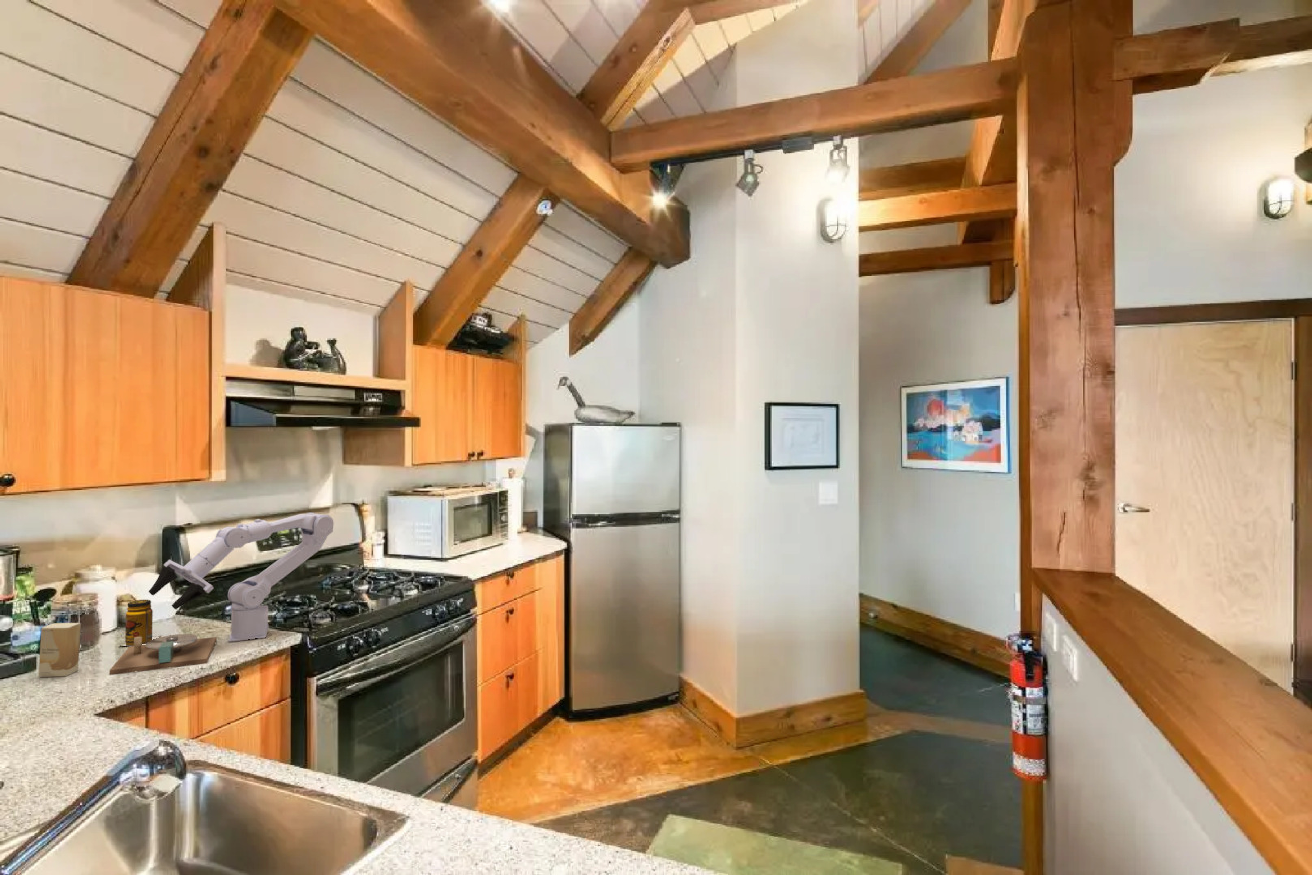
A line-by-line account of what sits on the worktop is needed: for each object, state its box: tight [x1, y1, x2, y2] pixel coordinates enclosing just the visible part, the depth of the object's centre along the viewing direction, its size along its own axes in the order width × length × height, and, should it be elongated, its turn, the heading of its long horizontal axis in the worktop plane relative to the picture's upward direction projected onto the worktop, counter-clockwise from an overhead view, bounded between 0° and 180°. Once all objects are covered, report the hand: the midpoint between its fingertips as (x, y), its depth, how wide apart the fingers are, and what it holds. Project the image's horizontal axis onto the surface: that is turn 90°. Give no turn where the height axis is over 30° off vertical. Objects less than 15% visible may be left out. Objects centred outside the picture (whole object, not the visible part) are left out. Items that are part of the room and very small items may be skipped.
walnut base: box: [109, 636, 218, 676], centre depth 172 cm, size 20×20×6 cm
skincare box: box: [38, 622, 82, 678], centre depth 159 cm, size 6×4×12 cm
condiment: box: [124, 599, 162, 646], centre depth 184 cm, size 7×8×12 cm
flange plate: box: [146, 633, 198, 663], centre depth 171 cm, size 16×11×4 cm
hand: (162, 600), depth 172 cm, fingers open, 7 cm apart
